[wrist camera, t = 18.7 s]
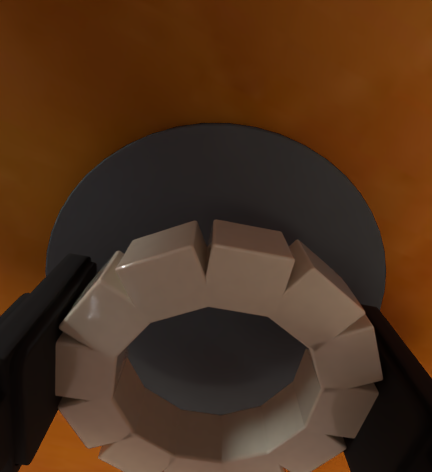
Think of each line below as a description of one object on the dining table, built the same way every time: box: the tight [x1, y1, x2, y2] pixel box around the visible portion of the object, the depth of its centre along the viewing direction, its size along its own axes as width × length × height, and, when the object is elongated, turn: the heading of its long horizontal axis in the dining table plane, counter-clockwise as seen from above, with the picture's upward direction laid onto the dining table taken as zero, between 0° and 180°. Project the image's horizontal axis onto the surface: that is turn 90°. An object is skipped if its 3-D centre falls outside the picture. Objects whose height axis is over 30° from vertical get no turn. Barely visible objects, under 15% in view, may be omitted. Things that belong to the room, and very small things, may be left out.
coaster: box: [45, 123, 386, 415], centre depth 11 cm, size 11×11×1 cm
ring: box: [55, 219, 383, 472], centre depth 8 cm, size 7×7×1 cm
